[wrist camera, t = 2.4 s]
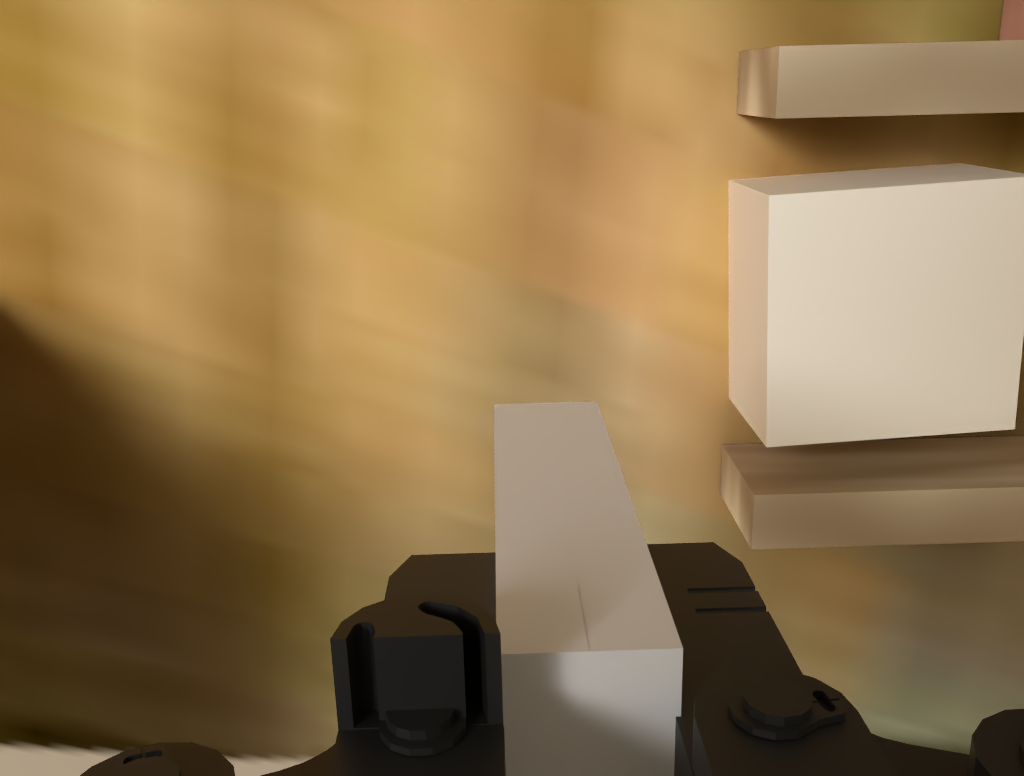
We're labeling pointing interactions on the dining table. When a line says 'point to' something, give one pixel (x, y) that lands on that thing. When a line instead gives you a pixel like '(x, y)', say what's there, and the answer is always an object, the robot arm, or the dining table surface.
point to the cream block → (876, 302)
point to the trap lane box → (900, 462)
